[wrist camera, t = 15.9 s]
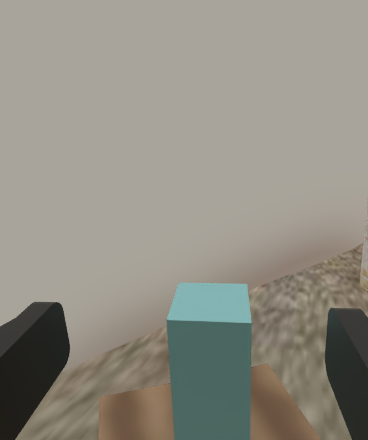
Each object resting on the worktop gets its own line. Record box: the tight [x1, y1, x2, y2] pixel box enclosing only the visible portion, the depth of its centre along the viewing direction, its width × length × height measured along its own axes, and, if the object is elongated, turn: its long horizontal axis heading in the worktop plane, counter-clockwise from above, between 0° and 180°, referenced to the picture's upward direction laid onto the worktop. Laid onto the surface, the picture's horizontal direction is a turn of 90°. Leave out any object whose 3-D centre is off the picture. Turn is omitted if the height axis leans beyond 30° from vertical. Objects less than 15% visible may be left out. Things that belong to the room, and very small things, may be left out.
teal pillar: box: [167, 283, 252, 440], centre depth 23 cm, size 5×5×14 cm
